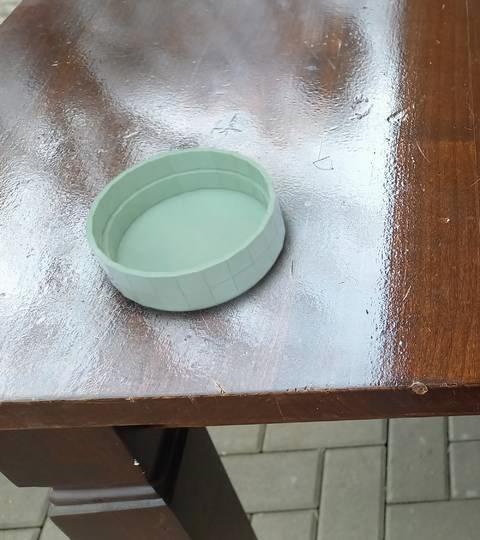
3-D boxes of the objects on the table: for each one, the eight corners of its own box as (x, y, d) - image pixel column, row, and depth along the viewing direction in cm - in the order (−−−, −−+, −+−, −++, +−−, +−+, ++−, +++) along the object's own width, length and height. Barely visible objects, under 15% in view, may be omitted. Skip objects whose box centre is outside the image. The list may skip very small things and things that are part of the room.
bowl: (86, 317, 68) (59, 279, 63) (135, 189, 80) (115, 149, 75) (274, 312, 69) (260, 273, 64) (295, 185, 80) (285, 145, 76)
